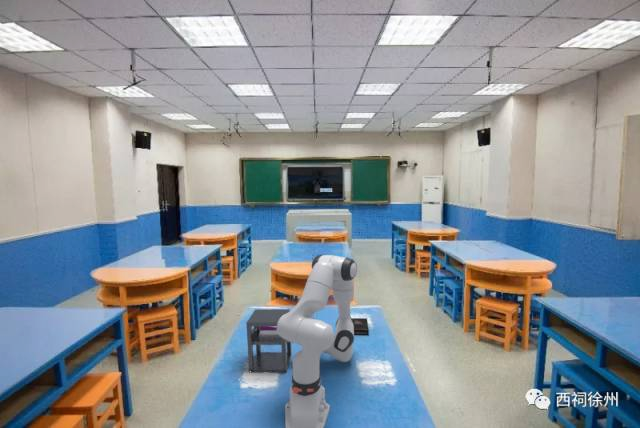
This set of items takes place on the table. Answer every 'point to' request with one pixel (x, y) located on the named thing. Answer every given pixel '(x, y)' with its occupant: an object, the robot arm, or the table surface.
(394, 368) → the table surface
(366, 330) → the portable cd player
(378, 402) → the table surface
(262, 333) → the strip
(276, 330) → the mounting bracket
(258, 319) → the rack
